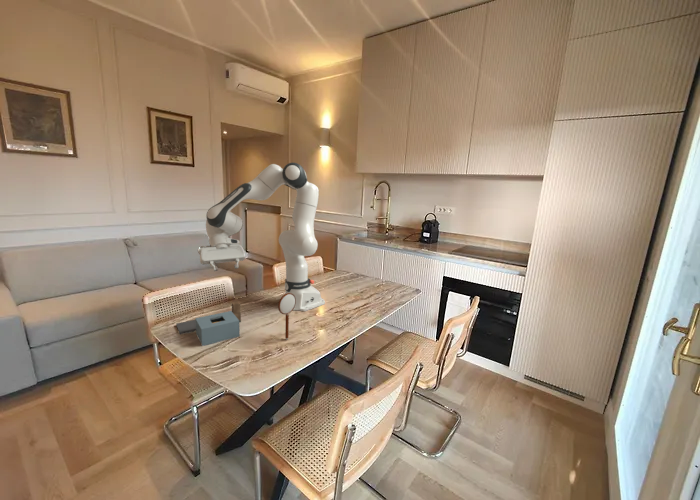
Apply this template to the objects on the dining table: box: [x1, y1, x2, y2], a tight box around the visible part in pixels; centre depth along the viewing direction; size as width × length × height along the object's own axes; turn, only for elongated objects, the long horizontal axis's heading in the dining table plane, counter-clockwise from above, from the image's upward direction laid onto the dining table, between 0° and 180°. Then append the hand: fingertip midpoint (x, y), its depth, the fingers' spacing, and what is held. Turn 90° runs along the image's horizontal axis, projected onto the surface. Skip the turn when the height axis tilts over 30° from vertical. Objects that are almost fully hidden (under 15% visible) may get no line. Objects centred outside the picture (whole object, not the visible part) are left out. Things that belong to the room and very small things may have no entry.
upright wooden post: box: [230, 300, 242, 323], centre depth 132 cm, size 3×3×9 cm
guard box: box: [194, 310, 241, 347], centre depth 120 cm, size 14×11×7 cm
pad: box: [175, 319, 196, 335], centre depth 126 cm, size 9×9×1 cm
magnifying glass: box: [277, 293, 296, 341], centre depth 118 cm, size 9×2×20 cm, turn 142°
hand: (226, 269), depth 139 cm, fingers open, 8 cm apart
